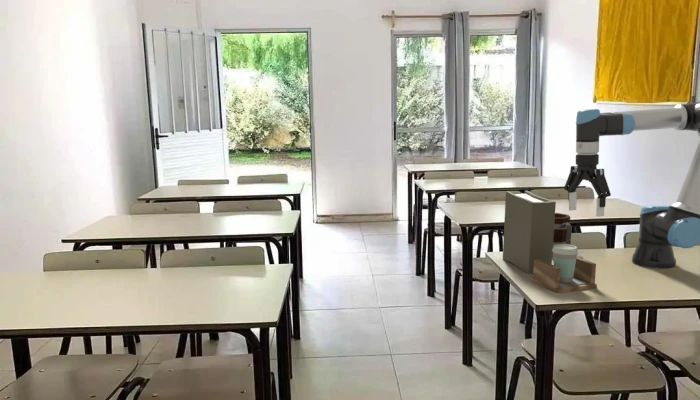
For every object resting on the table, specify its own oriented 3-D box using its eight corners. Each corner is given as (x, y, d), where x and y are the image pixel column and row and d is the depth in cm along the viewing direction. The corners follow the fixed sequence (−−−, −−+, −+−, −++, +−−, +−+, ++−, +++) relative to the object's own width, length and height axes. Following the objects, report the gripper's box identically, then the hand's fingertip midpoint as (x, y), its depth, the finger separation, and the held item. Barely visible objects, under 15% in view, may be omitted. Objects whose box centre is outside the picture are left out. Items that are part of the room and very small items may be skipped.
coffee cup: (578, 284, 195) (580, 250, 194) (552, 283, 197) (554, 249, 195) (574, 277, 204) (576, 244, 202) (549, 276, 205) (550, 243, 204)
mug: (530, 246, 254) (531, 213, 251) (558, 245, 256) (560, 212, 254) (553, 258, 235) (555, 222, 232) (583, 256, 237) (585, 220, 235)
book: (552, 274, 215) (557, 200, 210) (529, 275, 213) (533, 201, 208) (523, 258, 236) (527, 190, 230) (502, 259, 234) (505, 191, 228)
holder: (569, 276, 210) (570, 254, 208) (596, 287, 197) (598, 264, 195) (531, 281, 205) (532, 258, 203) (556, 292, 192) (558, 269, 190)
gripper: (554, 152, 213) (553, 208, 216) (605, 156, 190) (603, 220, 193) (571, 150, 215) (570, 206, 219) (623, 155, 192) (621, 217, 196)
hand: (585, 213), depth 206 cm, fingers open, 13 cm apart
